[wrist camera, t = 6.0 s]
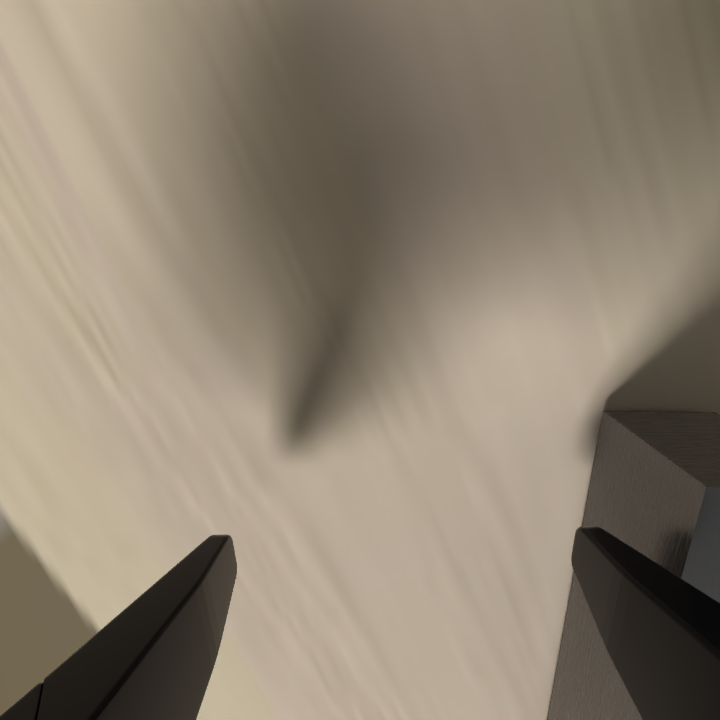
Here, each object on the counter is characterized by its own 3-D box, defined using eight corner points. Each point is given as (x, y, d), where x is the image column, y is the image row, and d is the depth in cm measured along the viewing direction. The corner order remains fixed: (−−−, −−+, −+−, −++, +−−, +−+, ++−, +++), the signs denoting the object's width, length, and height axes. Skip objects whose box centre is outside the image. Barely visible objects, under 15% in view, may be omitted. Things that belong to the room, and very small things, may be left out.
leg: (619, 771, 12) (692, 929, 10) (538, 767, 13) (586, 922, 10) (715, 412, 9) (871, 489, 6) (603, 410, 9) (706, 486, 6)
